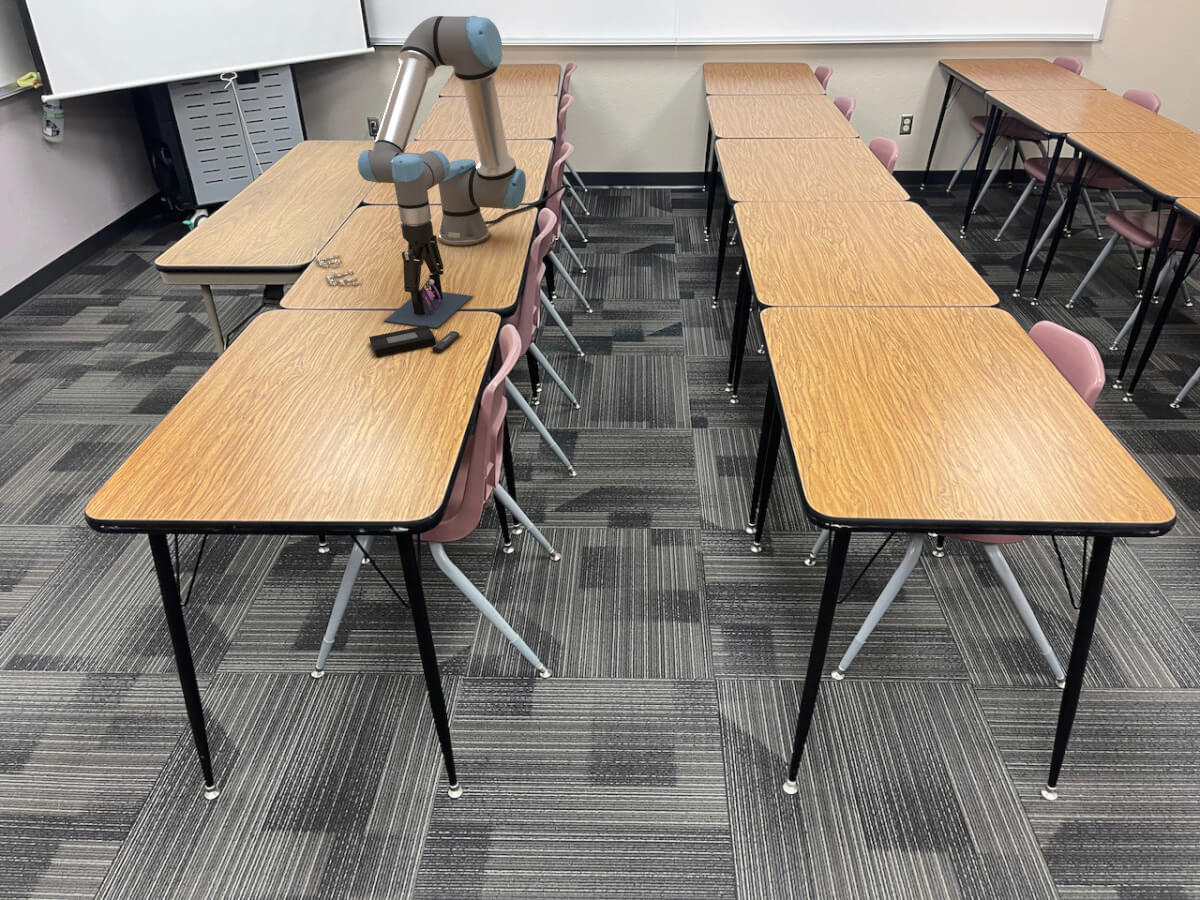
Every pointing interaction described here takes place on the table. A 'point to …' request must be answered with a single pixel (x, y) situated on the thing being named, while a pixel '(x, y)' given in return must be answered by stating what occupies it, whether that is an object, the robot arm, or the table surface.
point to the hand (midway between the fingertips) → (428, 306)
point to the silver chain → (334, 271)
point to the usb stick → (445, 341)
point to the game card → (429, 296)
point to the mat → (434, 320)
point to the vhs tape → (402, 340)
